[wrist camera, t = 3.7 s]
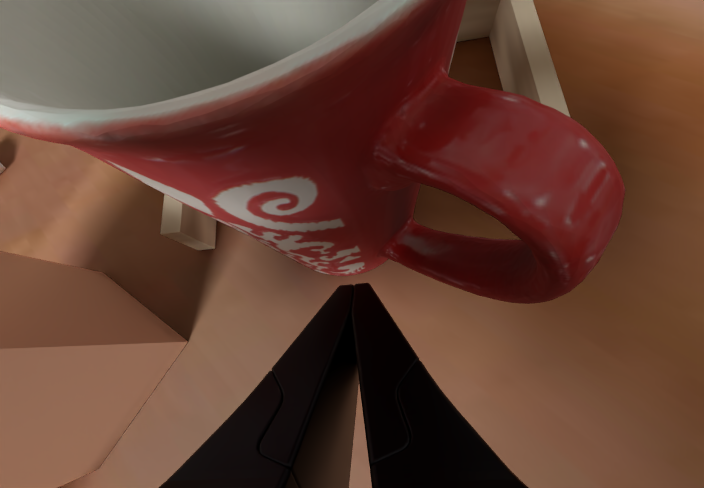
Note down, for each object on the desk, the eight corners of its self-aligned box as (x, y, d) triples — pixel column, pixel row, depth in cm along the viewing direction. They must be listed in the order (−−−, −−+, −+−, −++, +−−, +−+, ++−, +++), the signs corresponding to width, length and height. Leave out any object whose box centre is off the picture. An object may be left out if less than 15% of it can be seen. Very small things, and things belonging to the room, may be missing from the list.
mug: (231, 218, 18) (-183, -73, 5) (341, 112, 19) (227, -356, 6) (398, 389, 14) (425, 867, 2) (523, 247, 15) (1175, -196, 3)
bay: (555, 210, 16) (591, 182, 13) (198, 250, 18) (160, 234, 15) (502, 21, 19) (521, -34, 16) (210, 72, 21) (181, 31, 18)
